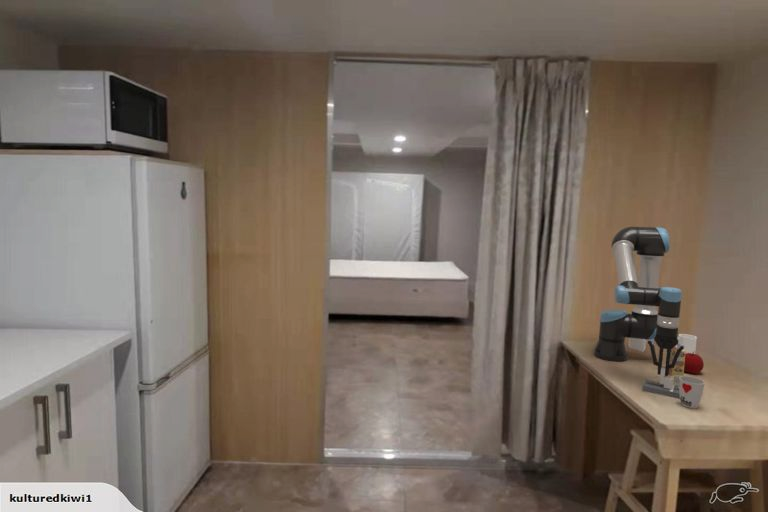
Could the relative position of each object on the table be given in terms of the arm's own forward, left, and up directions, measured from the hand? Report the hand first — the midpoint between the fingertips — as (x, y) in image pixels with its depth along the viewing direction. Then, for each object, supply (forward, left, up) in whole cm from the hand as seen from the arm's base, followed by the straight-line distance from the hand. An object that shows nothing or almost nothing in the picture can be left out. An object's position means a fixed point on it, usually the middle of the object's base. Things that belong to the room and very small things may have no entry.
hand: (662, 382), depth 198 cm
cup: (+10, -10, -4) cm, 15 cm away
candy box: (+4, +15, -4) cm, 16 cm away
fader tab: (+2, 0, -1) cm, 3 cm away
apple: (+9, +35, -4) cm, 36 cm away
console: (+3, 0, -3) cm, 4 cm away
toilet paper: (-16, +61, -4) cm, 63 cm away
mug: (+4, +64, -4) cm, 64 cm away
